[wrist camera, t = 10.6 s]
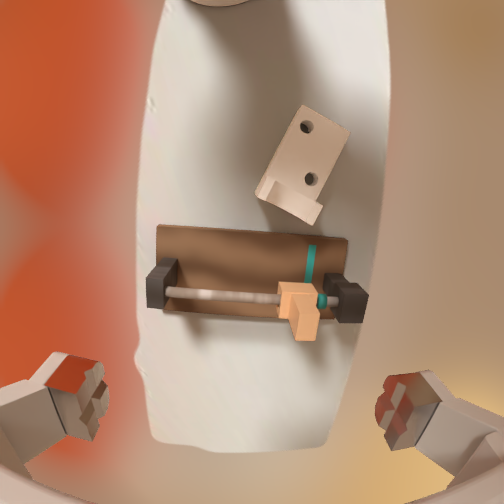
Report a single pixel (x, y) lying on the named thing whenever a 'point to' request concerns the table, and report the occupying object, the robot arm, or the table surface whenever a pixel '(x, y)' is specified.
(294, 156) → the bracket
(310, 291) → the orange l-shaped block
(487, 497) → the robot arm
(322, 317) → the linear slide rail
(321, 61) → the table surface
